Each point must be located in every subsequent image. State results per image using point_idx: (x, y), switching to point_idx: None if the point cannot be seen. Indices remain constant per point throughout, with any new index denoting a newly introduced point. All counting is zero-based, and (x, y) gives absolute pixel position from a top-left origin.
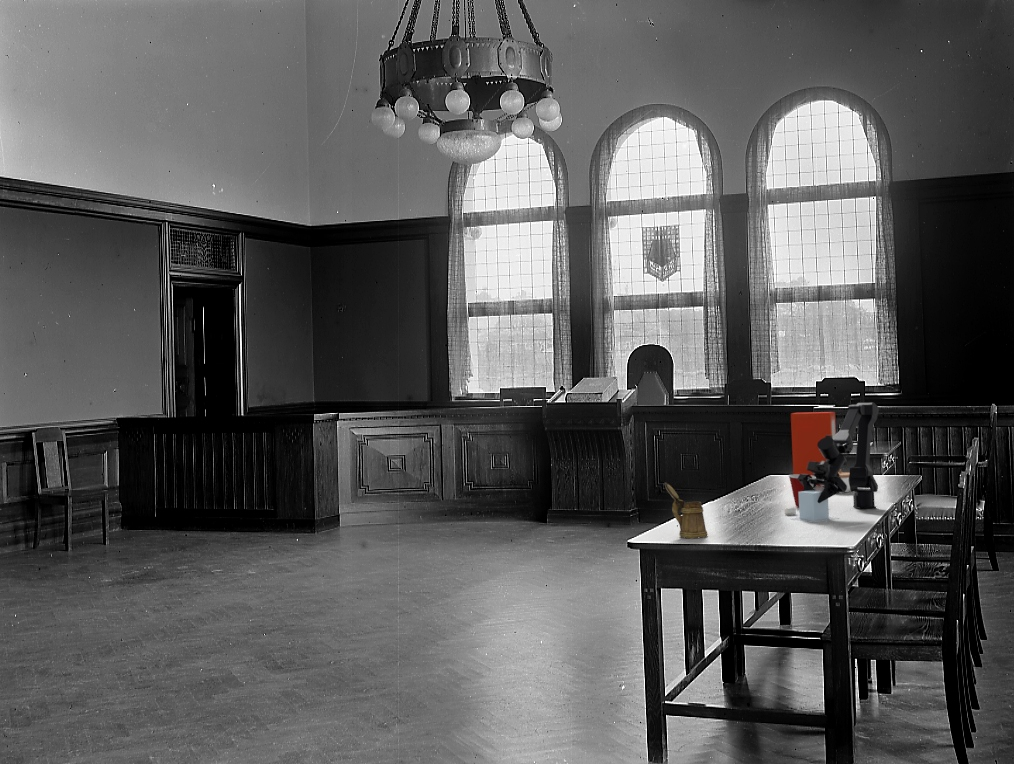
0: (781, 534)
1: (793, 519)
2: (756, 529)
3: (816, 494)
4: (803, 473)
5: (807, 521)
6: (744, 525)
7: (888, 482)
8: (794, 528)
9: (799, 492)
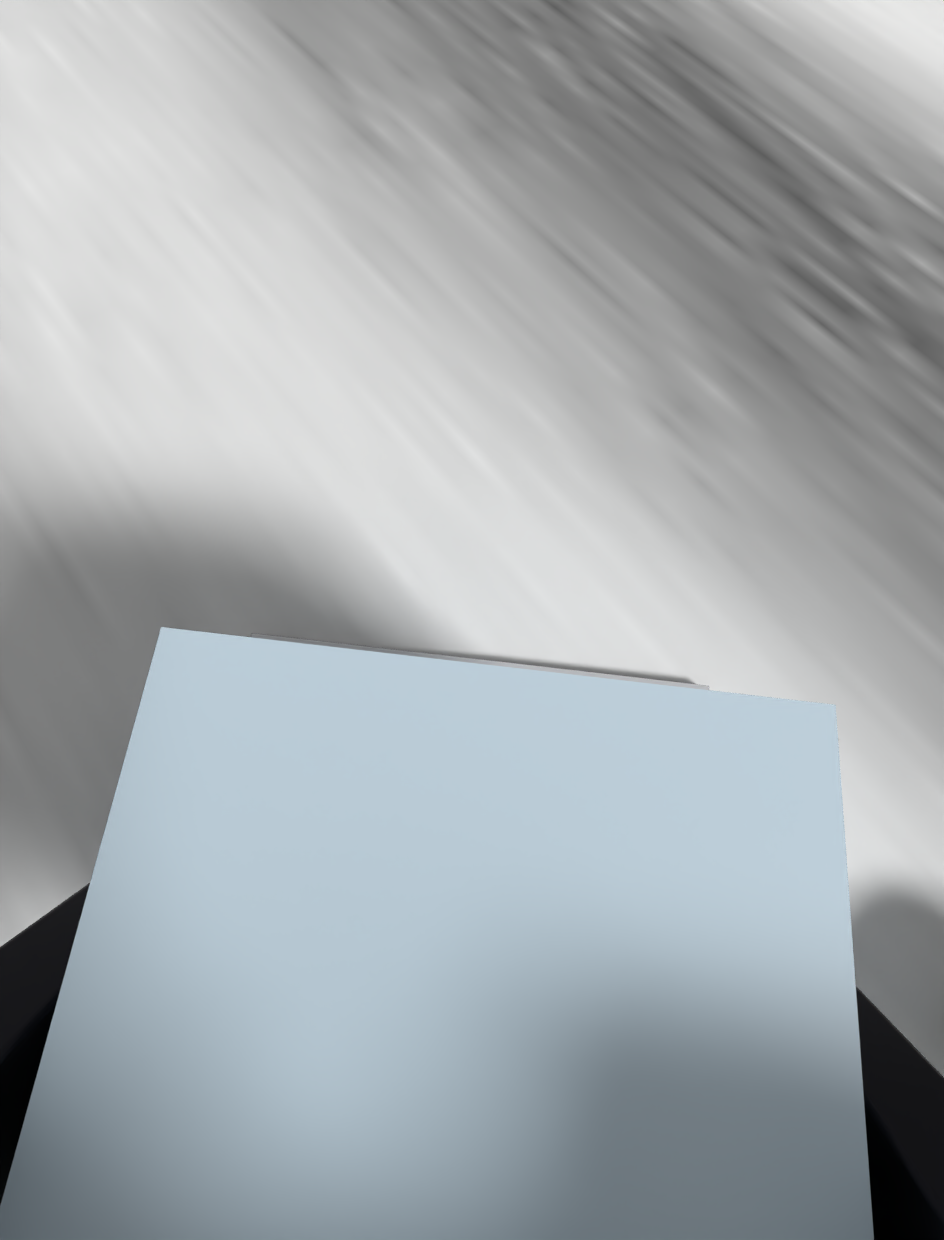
0: (178, 31)
1: (634, 679)
2: (525, 103)
3: (142, 781)
4: None
5: (379, 649)
6: (781, 196)
7: None
8: (262, 282)
9: (781, 704)
